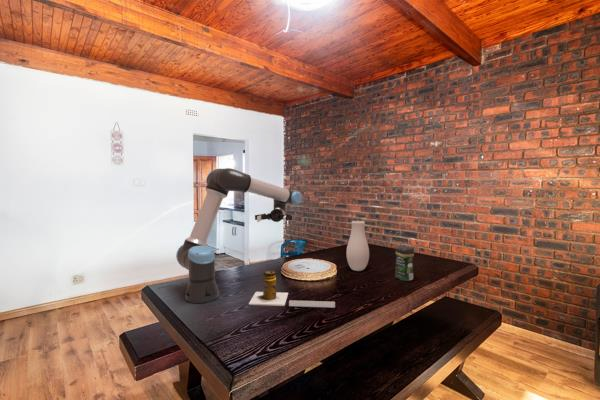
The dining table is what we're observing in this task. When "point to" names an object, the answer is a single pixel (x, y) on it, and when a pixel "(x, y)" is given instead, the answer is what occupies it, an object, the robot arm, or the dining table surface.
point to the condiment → (269, 287)
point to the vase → (357, 247)
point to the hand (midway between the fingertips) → (270, 219)
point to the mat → (276, 302)
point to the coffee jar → (404, 263)
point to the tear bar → (311, 303)
